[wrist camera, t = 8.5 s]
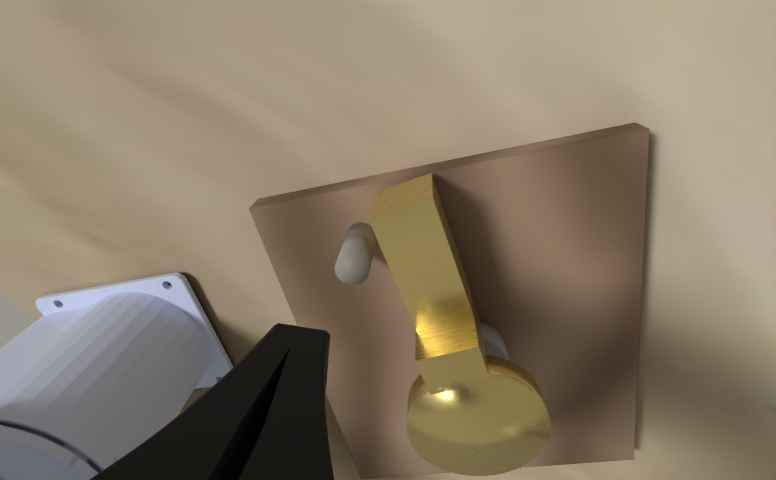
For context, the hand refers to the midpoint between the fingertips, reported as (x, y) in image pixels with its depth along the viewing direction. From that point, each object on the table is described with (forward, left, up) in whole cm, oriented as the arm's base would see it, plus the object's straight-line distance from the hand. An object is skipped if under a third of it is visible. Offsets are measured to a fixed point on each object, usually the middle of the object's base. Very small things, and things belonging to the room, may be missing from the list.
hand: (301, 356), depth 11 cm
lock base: (+4, -9, -10) cm, 14 cm away
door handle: (+3, -5, -9) cm, 11 cm away
